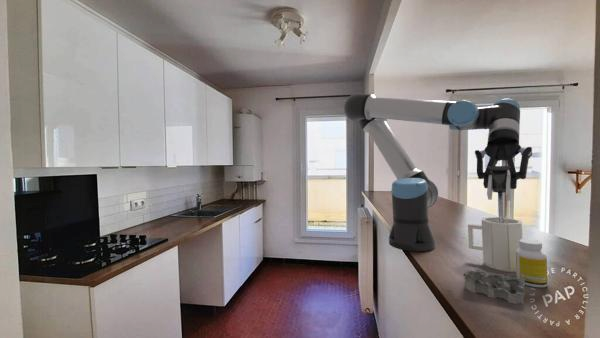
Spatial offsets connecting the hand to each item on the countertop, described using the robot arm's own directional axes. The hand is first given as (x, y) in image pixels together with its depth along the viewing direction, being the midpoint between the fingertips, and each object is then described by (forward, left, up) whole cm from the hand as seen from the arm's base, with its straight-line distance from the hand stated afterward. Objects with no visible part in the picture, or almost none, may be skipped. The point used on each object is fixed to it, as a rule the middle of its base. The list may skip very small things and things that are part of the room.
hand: (498, 196), depth 66 cm
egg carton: (0, -14, -20) cm, 24 cm away
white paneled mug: (-2, +4, -20) cm, 20 cm away
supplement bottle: (+6, -4, -20) cm, 21 cm away
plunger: (0, +4, -13) cm, 13 cm away
